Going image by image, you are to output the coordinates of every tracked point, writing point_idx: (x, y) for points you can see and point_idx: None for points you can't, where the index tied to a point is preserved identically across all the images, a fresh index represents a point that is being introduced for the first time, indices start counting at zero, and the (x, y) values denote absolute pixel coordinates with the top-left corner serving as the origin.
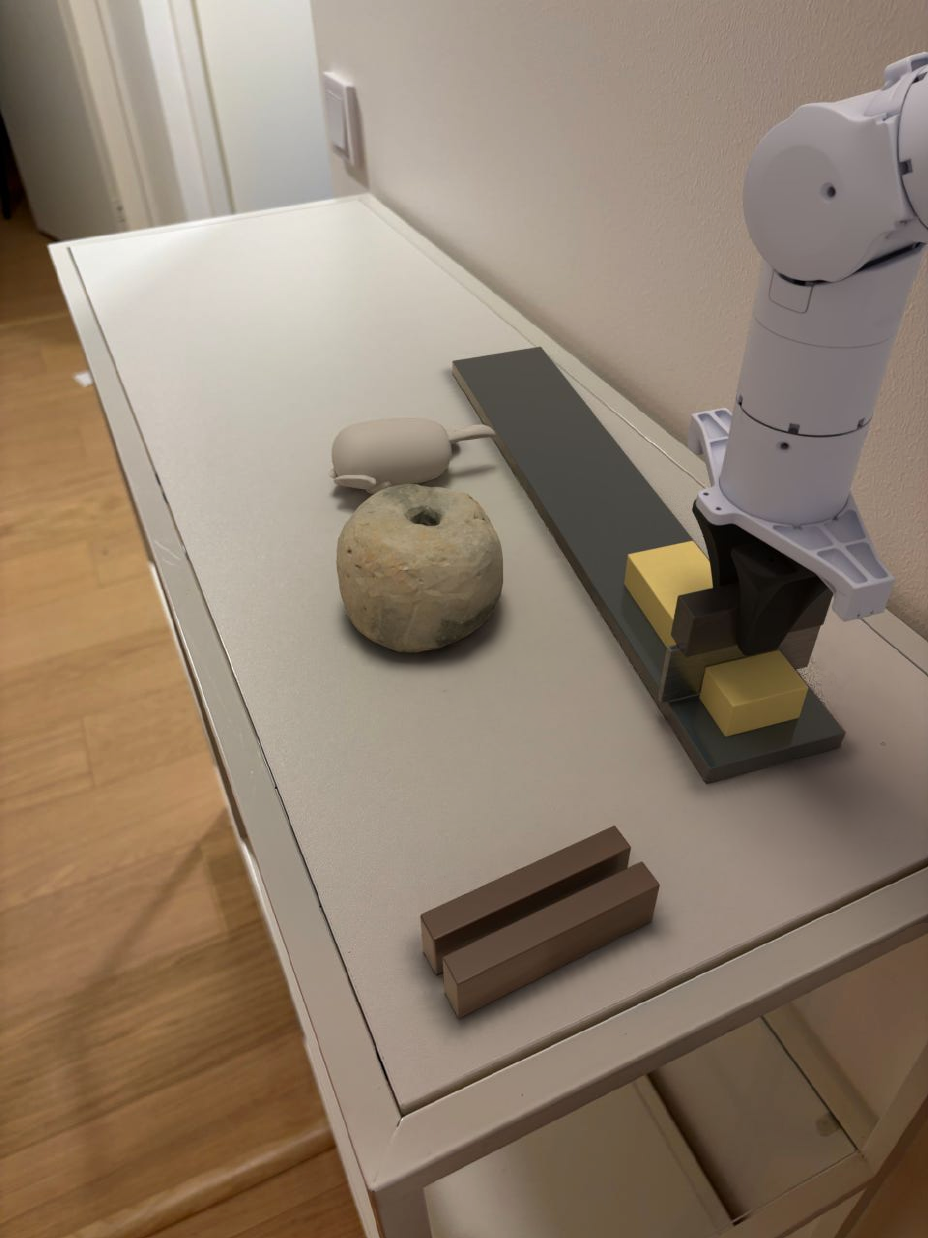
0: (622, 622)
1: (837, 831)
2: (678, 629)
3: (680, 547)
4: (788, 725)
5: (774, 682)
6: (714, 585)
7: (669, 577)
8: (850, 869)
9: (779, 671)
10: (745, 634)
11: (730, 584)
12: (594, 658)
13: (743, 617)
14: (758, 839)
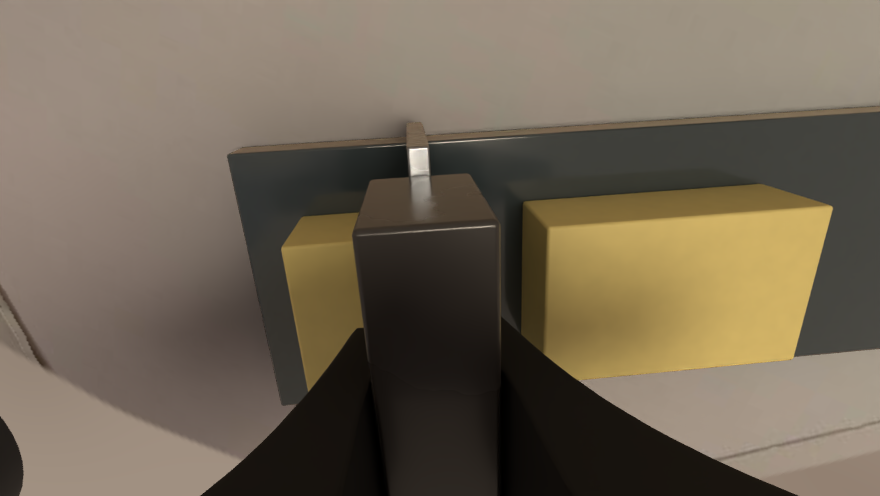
0: (660, 137)
1: (123, 312)
2: (435, 188)
3: (788, 327)
4: None
5: (335, 353)
6: (539, 363)
7: (713, 269)
8: (46, 299)
9: None
10: (330, 365)
11: (495, 416)
12: (606, 54)
13: (337, 394)
14: (109, 187)
